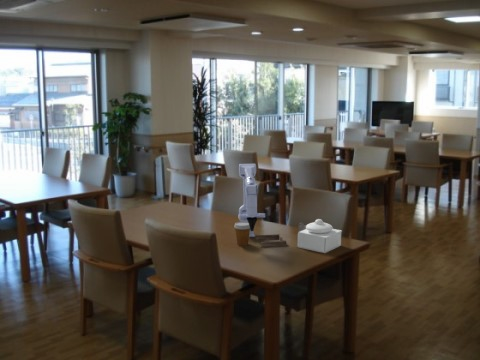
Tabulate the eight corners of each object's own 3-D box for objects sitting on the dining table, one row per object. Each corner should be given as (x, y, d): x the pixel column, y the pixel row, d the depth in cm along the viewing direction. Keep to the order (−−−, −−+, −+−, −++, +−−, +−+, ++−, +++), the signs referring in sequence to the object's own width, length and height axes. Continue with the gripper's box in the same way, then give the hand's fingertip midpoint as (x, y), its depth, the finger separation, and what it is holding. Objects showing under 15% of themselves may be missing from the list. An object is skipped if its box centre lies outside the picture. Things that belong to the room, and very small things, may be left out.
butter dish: (314, 240, 318) (314, 213, 315) (341, 245, 306) (342, 218, 304) (297, 247, 304) (297, 219, 301) (325, 253, 293) (326, 224, 290)
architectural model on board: (316, 238, 322) (316, 222, 320) (312, 239, 320) (312, 223, 318) (302, 235, 330) (302, 219, 328) (298, 235, 328) (298, 220, 327)
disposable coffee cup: (236, 247, 305) (236, 226, 303) (232, 242, 314) (232, 222, 312) (253, 245, 308) (253, 225, 306) (248, 241, 317) (248, 221, 315)
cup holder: (255, 239, 320) (255, 235, 319) (279, 238, 322) (279, 234, 322) (261, 247, 305) (261, 242, 305) (286, 245, 308) (286, 241, 307)
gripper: (239, 208, 293) (240, 233, 295) (266, 207, 295) (266, 231, 298) (237, 205, 299) (237, 229, 302) (263, 204, 302) (263, 228, 304)
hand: (251, 230), depth 300 cm, fingers closed
